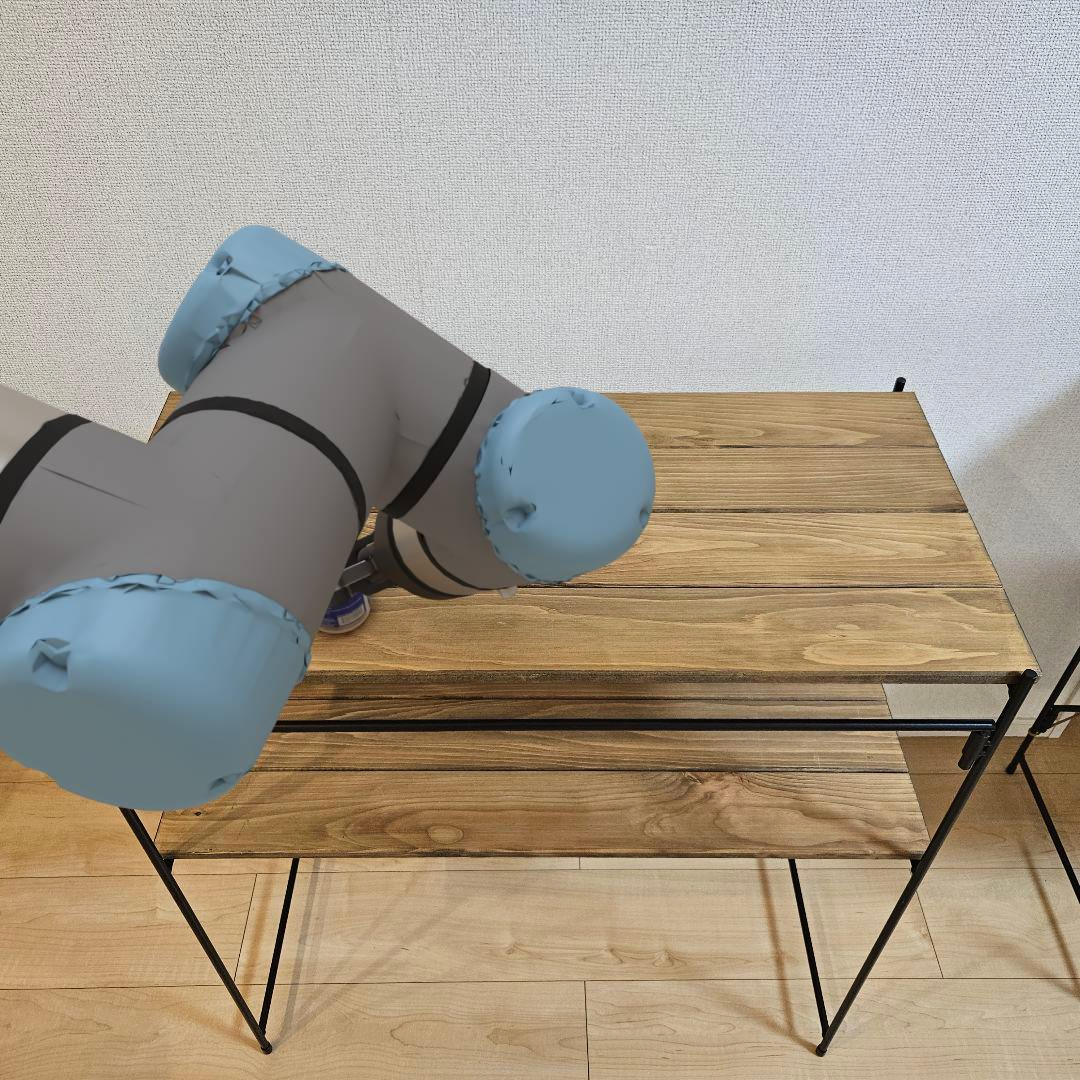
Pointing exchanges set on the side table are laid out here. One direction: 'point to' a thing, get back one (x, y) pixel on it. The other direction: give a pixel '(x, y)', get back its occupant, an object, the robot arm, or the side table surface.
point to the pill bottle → (346, 615)
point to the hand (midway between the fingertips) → (366, 564)
